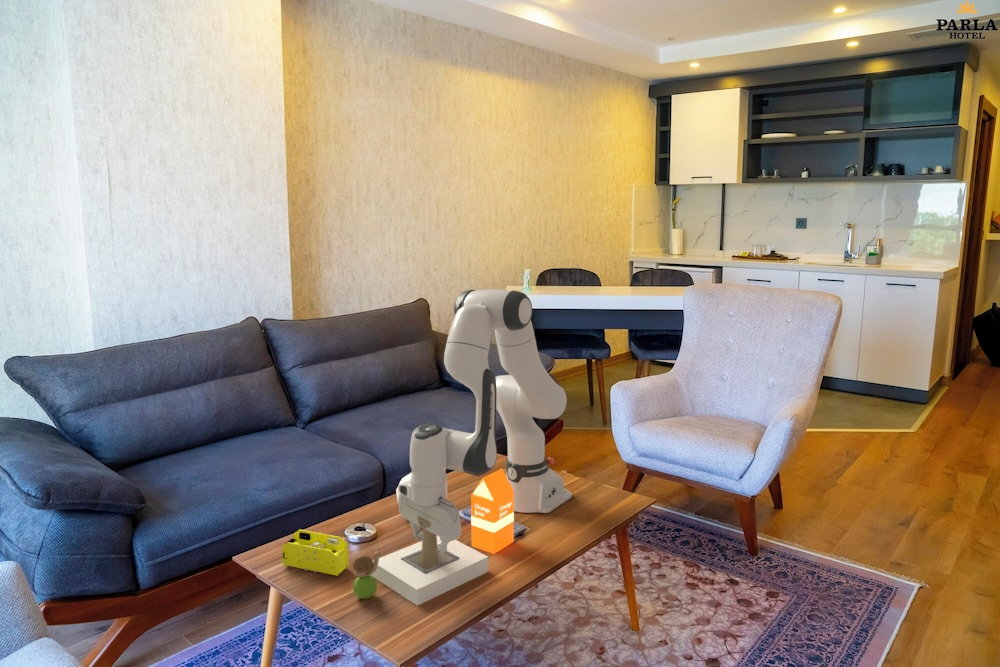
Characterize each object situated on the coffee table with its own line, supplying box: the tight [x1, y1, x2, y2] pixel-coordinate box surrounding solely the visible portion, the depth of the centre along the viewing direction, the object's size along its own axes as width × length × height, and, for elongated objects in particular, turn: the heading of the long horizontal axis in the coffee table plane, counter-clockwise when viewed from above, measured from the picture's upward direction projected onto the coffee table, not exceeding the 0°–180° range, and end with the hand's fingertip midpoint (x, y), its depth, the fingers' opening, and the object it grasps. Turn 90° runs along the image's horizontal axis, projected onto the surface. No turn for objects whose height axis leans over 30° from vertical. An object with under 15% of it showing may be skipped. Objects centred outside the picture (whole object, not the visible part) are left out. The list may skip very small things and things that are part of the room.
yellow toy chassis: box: [281, 529, 350, 577], centre depth 181 cm, size 16×6×8 cm, turn 70°
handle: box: [417, 516, 439, 570], centre depth 177 cm, size 5×6×15 cm
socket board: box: [371, 536, 489, 606], centre depth 178 cm, size 22×18×4 cm
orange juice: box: [470, 468, 515, 555], centre depth 192 cm, size 8×9×20 cm
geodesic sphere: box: [395, 472, 412, 505], centre depth 210 cm, size 14×14×14 cm
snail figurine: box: [352, 546, 381, 600], centre depth 167 cm, size 5×6×12 cm
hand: (430, 545), depth 177 cm, fingers open, 8 cm apart
